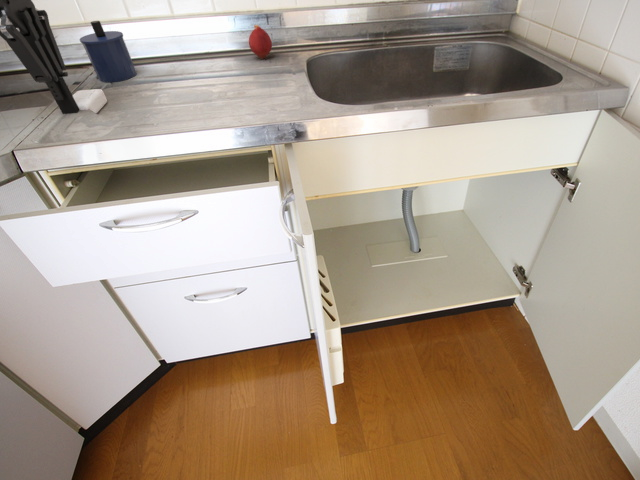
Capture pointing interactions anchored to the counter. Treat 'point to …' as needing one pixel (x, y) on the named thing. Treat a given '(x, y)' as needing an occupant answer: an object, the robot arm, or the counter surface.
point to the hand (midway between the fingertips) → (72, 114)
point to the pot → (111, 60)
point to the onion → (260, 42)
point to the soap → (90, 99)
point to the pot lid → (100, 35)
